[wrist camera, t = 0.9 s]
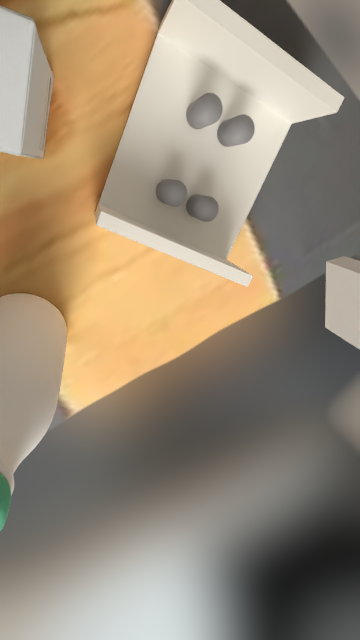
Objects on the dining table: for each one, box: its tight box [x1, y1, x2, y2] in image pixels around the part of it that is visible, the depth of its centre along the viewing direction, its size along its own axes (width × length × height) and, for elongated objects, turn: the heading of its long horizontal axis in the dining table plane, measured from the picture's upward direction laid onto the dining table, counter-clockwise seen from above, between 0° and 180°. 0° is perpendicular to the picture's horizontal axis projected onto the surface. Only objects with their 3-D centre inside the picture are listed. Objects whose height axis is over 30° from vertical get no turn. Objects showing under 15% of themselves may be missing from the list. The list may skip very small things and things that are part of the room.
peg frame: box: [95, 0, 344, 287], centre depth 26 cm, size 13×15×7 cm
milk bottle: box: [0, 293, 67, 531], centre depth 23 cm, size 8×8×20 cm
